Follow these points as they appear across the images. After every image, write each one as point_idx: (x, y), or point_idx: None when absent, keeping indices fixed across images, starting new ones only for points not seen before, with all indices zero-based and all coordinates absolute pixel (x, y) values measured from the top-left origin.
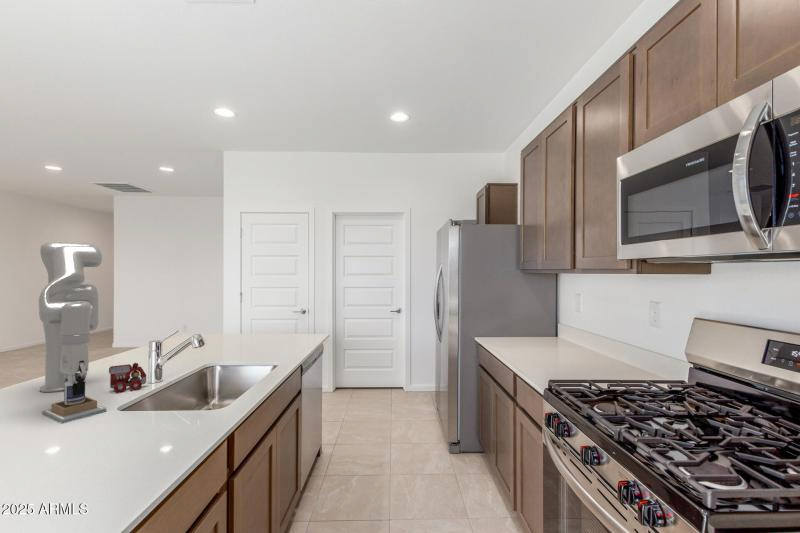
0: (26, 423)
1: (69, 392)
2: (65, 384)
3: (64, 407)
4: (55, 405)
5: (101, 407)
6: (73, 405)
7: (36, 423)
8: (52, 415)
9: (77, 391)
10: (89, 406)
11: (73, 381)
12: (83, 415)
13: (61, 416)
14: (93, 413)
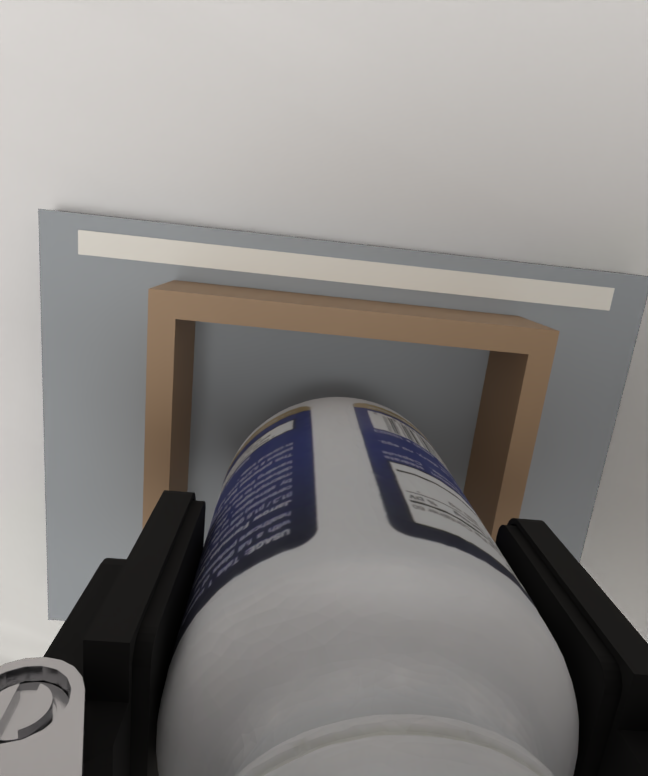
0: (446, 23)
1: (256, 492)
2: (374, 556)
3: (481, 431)
4: (432, 320)
5: None
6: None
7: (333, 79)
8: (343, 246)
9: (101, 567)
10: None
11: (241, 726)
12: (46, 416)
13: (203, 277)
14: (53, 501)
